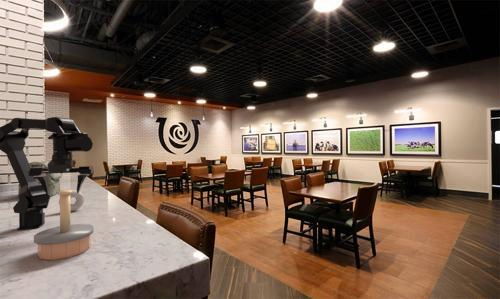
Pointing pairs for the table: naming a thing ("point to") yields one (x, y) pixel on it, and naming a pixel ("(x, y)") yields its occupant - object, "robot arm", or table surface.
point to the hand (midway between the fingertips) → (63, 194)
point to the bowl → (64, 249)
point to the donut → (78, 202)
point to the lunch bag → (53, 178)
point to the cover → (64, 226)
